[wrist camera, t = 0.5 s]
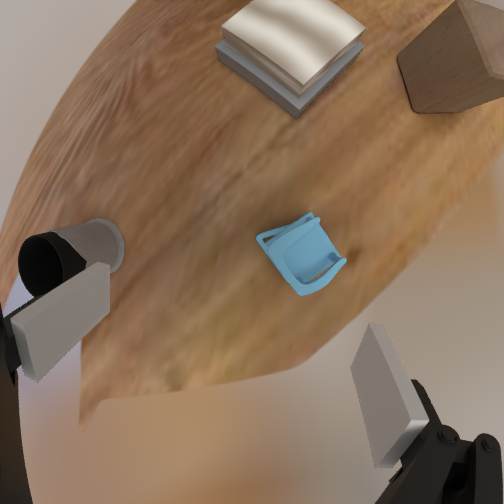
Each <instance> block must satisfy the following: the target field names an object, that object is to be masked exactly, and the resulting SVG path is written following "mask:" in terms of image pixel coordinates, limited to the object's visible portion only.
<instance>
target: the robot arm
mask: <svg viewBox="0 0 504 504" xmlns="http://www.w3.org/2000/svg"><path fill="white" fill-rule="evenodd" d="M109 312H110V265H108V264H104V263H101V262H97V263H95V264H93V265H92V266H90V267H88V268H87V269H85V270H84V271H82V272H80V273H79V274H77V275H75V276H74V277H72V278H71V279H69V280H67V281H66V282H64V283H63V284H61V285H60V286H58V287H57V288H55V289H53V290H52V291H50V292H49V293H47V294H46V295H45V294H43V295H40V296H37V297H34V298H33V299H31V300H30V301H28V302H27V303H25V304H24V305H22V306H21V307H19V308H18V309H16V310H15V311H13V312H12V313H10V314H9V315H7V316H6V317H4V318H3V314H2V309H1V303H0V504H33V502H32V497H31V493H30V488H29V484H28V479H27V473H26V468H25V461H24V455H23V447H22V439H21V430H20V417H19V399H18V373H17V370H16V369H17V368H18V367H19V366H20V365H22V368H23V372H24V375H25V376H26V377H28V378H30V379H31V380H33V381H35V382H37V383H38V382H39V381H40V380H41V379H42V378H43V377H44V376H45V375H46V374H47V373H48V372H49V371H50V370H51V369H52V368H53V367H54V366H55V365H56V364H57V363H58V362H59V361H60V360H61V359H62V358H63V356H65V355H66V354H67V352H68V351H70V350H71V349H72V348H73V347H74V346H75V345H76V344H77V343H78V342H79V341H80V340H81V339H82V338H83V337H84V336H85V335H86V334H87V333H88V332H89V331H90V330H91V329H92V328H93V327H94V326H96V325H97V324H98V323H99V322H100V321H101V320H102V319H103V318H104V317H105V316H106V315H107V314H108V313H109ZM351 371H352V375H353V379H354V382H355V386H356V390H357V393H358V398H359V402H360V405H361V410H362V414H363V418H364V422H365V426H366V430H367V435H368V439H369V443H370V448H371V452H372V457H373V462H374V466H375V468H392V467H393V466H394V465H395V464H396V463H397V462H398V460H399V459H400V460H401V463H402V467H401V468H400V469H399V471H397V473H396V474H395V475H394V476H393V477H392V478H391V479H390V480H389V482H390V483H389V485H388V486H387V488H386V489H385V491H384V492H383V493H382V495H381V496H380V497H379V499H378V500H377V501H376V503H375V504H503V481H502V480H503V479H502V461H501V449H500V445H499V442H498V441H497V440H496V438H494V437H493V436H491V435H489V434H485V433H483V434H480V435H478V436H477V438H476V439H475V440H474V441H473V442H471V441H466V440H461V439H460V437H459V435H458V433H457V432H456V431H455V430H454V429H453V428H451V427H449V426H447V425H442V423H441V421H440V420H439V417H438V415H437V413H436V411H435V409H434V407H433V405H432V404H431V401H430V399H429V397H428V395H427V393H426V391H425V389H424V387H423V386H422V385H421V384H420V383H419V382H418V381H417V380H413V379H410V378H409V376H408V374H407V371H406V370H405V367H404V366H403V364H402V361H401V359H400V358H399V356H398V354H397V352H396V350H395V348H394V346H393V344H392V342H391V340H390V338H389V336H388V334H387V333H386V331H385V329H384V327H383V326H382V325H378V324H372V323H369V324H368V327H367V329H366V332H365V334H364V337H363V339H362V342H361V344H360V346H359V349H358V351H357V353H356V356H355V358H354V361H353V363H352V365H351Z"/></svg>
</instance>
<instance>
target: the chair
mask: <svg viewBox="0 0 504 504" xmlns="http://www.w3.org/2000/svg"><path fill="white" fill-rule="evenodd" d="M319 222H320V218H319V217H316V216H314V215H313V214H312V212H311V211H309V212H308V213H306V214H305V215H304V216H302V217H301V218H299V219H298V220H296V221H295V222H294V223H291V224H288V225H284V226H281V227H278V228H274V229H271V230H268V231H265V232H262V233H260V234H258V235H257V236H256V240H257V242H258V243H259V244H260V246H261V247H262V248H263V250H264V251H265V253H266V254H267V255H268V257H269V258H270V259H271V261H272V262H273V264H274V265H275V266H276V268H277V269H278V270H279V272H280V273H281V275H282V276H283V277H284V279H285V280H286V281H287V282H288V283H289V284H290V285H291V286H292V288H293V289H294V290H295V291H296V293H297V294H298V295H300V296H305V295H308V294H311V293H313V292H316V291H318V290H320V289H321V288H323V287H324V286H326V285H327V284H328V283H329V282H330V281H331V280H332V279H333V277H334V276H335V275H336V273H337V272H338V271H339V269H340V268H341V267H342V266H343V265H344V264H345V263H346V261H347V259H346V258H341V256H340V255H339V253H338V252H337V250H336V248H335V247H334V245H333V244H332V242H331V241H330V239H329V238H328V234H327V232H326V231H324V230H323V229H322V227H321V226H320V224H319ZM273 235H275V236H274V237H272V238H271V239H270V240H268V241H267V242H264V241H263V238H265V237H269V236H273ZM333 263H334V264H333ZM332 264H333V265H332ZM331 265H332V266H331ZM329 266H331V267H330V268H329V269H328V270H326V271H325V272H324V273H323V274H322V275H320V276H319V277H317V278H316V279H314V280H312V281H309V280H310V279H312V278H313V277H315V276H316V275H317V274H319V273H320V272H322V271H323V270H325V269H326V268H328V267H329ZM308 281H309V282H308Z"/></svg>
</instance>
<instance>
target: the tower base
mask: <svg viewBox="0 0 504 504" xmlns="http://www.w3.org/2000/svg"><path fill="white" fill-rule="evenodd" d="M364 47H365V46H364V45H363V44H362V43H361V42H359V41H357V43H356V45H355V46H353V47H352V48H351V49H350V50H349V51H348V52H347V53H346V54H345V55H344V56H342V57H341V58H340V59H339V60H338V61H337V62H336V63H335V64H334V65H333V66H332V67H331V68H330V69H328V70H327V71H326V72H325V73H324V74H323V75H322V76H321V77H320V78H319V79H318V80H317V81H316V82H315V83H314V84H313V85H312V86H311V87H310V88H309V89H308V90H307V91H306V92H305V93H304V94H303V95H302V96H301V97H300V98H299V99H298V98H297V97H296V96H295V95H293V94H292V93H291V92H290V91H289V90H287V89H286V88H285V87H284V86H282V85H281V84H280V83H278V82H277V81H276V80H275V79H273V78H272V77H271V76H269V75H268V74H267V73H265V72H264V71H263V70H261V69H260V68H259V67H257V66H256V65H255V64H253V63H252V62H251V61H249V60H248V59H246V58H245V57H244V56H242V55H241V54H239V53H238V52H236V51H235V50H234V49H232V48H231V47H229V46H228V45H226V42H225V38H224V39H223V40H221V41H220V42H219V43H218V44H217V45H216V46H215V49H216V52H217V55H218V58H219V61H221V62H222V63H224V64H225V65H227V66H228V67H229V68H231V69H232V70H234V71H235V72H236V73H238V74H239V75H240V76H242V77H243V78H245V79H246V80H247V81H249V82H250V83H251V84H253V85H254V86H255V87H256V88H258V89H259V90H260V91H262V92H263V93H264V94H265V95H267V96H268V97H269V98H271V99H272V100H273V101H274V102H276V103H277V104H278V105H279V106H280V107H282V108H283V109H284V110H285V111H287V112H288V113H289V114H290V115H291V116H293V117H294V118H295V119H296V118H297V117H298V116H299V115H300V114H301V113H302V112H303V111H304V110H305V109H306V108H307V107H308V106H309V105H310V104H311V103H312V102H313V101H314V100H315V99H316V98H317V97H318V96H319V95H320V94H321V93H322V92H323V91H324V90H325V89H326V88H327V87H328V86H329V85H330V84H331V83H332V82H333V81H334V80H335V79H336V78H337V77H338V76H339V75H340V74H341V73H342V72H343V71H344V70H345V69H346V68H347V67H348V66H349V65H350V64H351V63H352V62H353V61H354V60H355V59H356V58H357V57H358V55H359V54H360V52H361V51H362V50H363V48H364Z"/></svg>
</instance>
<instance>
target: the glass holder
mask: <svg viewBox="0 0 504 504" xmlns="http://www.w3.org/2000/svg"><path fill="white" fill-rule="evenodd" d="M124 255H125V243H124V239H123V236H122V234H121V232H120V230H119V229H118V227H117V226H116V225H115V224H114V223H112V222H111V221H109V220H107V219H104V218H94V219H92V220H90V221H88V222H87V223H84V224H79V225H74V226H69V227H64V228H59V229H54V230H49V231H48V232H47V233H42V234H38V235H33V236H31V237H29V238H27V239H26V240H25V241H24V243H23V244H22V246H21V248H20V251H19V256H18V267H19V273H20V276H21V279H22V282H23V283H24V285H25V287H26V289H27V290H28V291H29V293H30V294H32V296H34V297H37V296H40V295H43V294H45V295H46V294H47V293H49V292H50V291H52V290H53V289H55V288H57V287H58V286H60V285H61V284H63V283H64V282H66V281H67V280H69V279H71V278H72V277H74V276H75V275H77V274H79V273H80V272H82V271H84V270H85V269H87V268H88V267H90V266H92V265H93V264H95V263H97V262H101V263H104V264H108V265H110V274H111V273H113V272H115V271H116V270H117V269H118V268H119V267H120V265H121V264H122V262H123V259H124Z"/></svg>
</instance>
